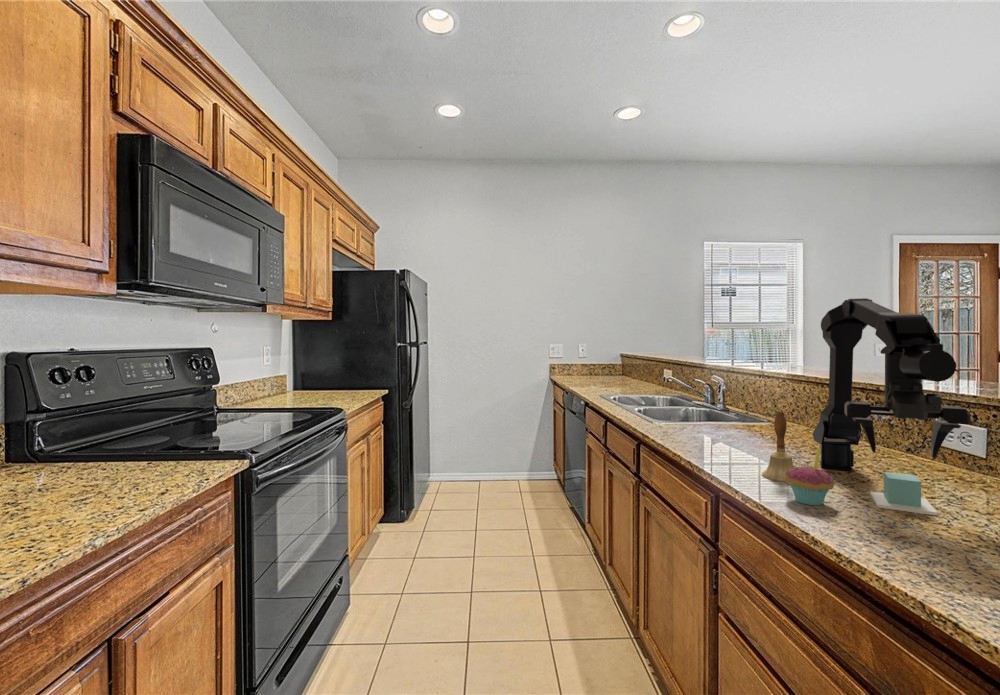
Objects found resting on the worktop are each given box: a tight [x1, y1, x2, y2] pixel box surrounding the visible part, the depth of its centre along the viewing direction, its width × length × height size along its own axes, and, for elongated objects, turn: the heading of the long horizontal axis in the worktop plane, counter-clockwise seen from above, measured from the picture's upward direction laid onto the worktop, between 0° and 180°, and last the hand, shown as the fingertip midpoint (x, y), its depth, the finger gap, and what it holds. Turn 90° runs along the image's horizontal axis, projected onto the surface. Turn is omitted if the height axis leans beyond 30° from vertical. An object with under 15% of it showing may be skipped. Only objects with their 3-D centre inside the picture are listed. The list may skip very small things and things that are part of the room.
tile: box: [869, 491, 939, 516], centre depth 96 cm, size 9×9×1 cm
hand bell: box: [761, 410, 795, 483], centre depth 115 cm, size 8×8×16 cm
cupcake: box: [784, 443, 835, 506], centre depth 98 cm, size 9×8×12 cm
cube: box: [883, 471, 922, 507], centre depth 96 cm, size 5×5×5 cm
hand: (902, 454), depth 96 cm, fingers open, 9 cm apart
